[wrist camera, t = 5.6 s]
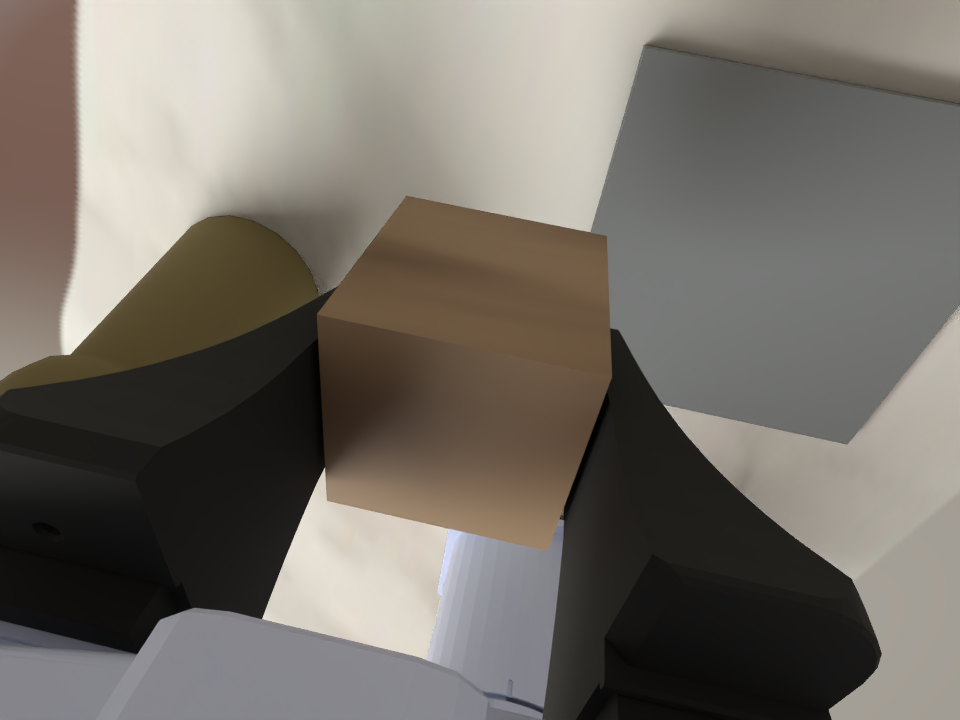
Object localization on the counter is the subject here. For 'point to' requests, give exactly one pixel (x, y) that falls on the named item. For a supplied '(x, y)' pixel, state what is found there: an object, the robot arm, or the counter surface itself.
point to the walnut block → (465, 370)
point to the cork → (188, 303)
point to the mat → (779, 239)
